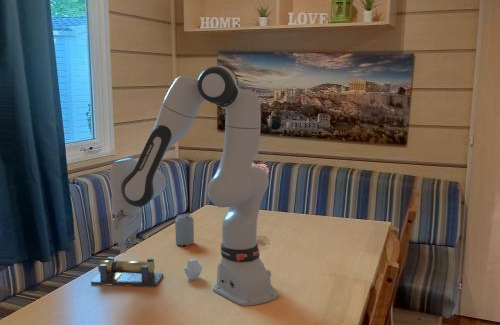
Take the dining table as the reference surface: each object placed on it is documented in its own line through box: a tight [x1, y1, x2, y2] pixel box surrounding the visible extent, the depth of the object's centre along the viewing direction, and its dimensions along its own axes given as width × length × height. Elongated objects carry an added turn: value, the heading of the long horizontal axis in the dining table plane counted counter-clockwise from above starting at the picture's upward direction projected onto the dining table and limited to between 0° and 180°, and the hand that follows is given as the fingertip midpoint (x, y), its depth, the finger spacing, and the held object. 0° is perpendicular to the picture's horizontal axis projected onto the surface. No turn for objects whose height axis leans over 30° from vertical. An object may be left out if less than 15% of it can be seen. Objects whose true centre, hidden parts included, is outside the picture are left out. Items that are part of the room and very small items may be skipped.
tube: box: [97, 259, 156, 274], centre depth 167 cm, size 18×4×4 cm, turn 85°
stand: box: [90, 256, 164, 288], centre depth 168 cm, size 22×9×6 cm, turn 85°
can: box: [174, 213, 195, 246], centre depth 205 cm, size 8×8×12 cm
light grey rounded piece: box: [183, 258, 203, 281], centre depth 170 cm, size 6×6×7 cm
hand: (128, 247), depth 166 cm, fingers open, 8 cm apart
